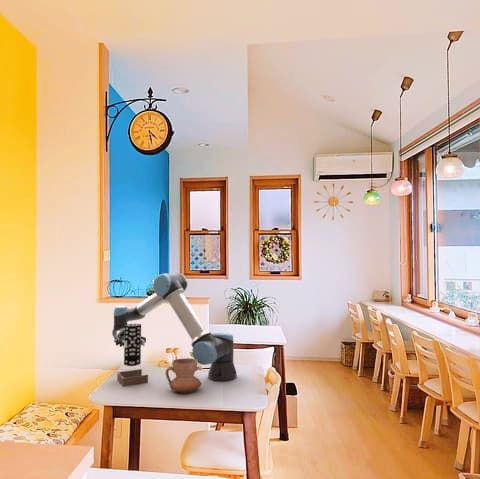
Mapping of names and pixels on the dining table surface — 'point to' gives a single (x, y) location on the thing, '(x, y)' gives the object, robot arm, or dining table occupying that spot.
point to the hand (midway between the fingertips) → (135, 344)
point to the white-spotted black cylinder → (132, 345)
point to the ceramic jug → (184, 375)
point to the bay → (131, 378)
